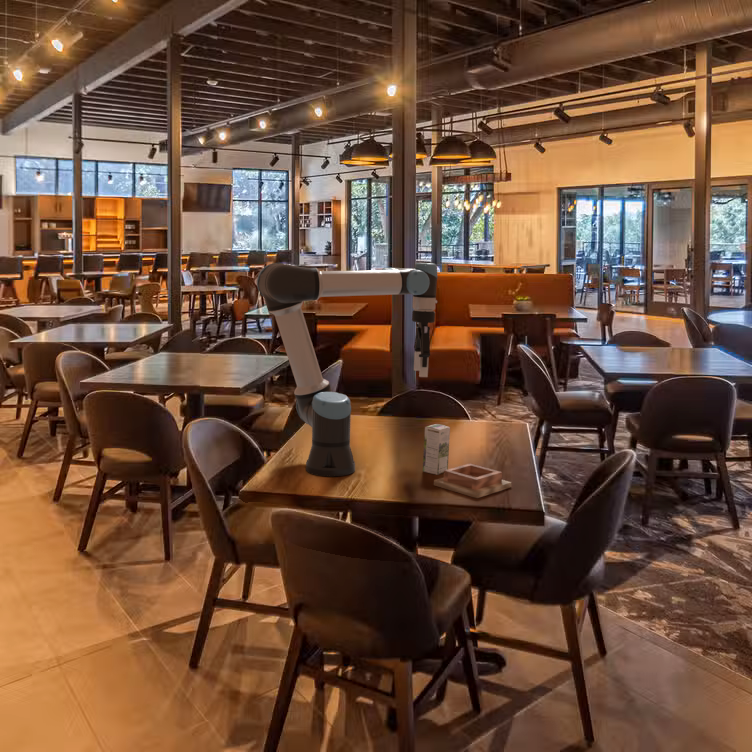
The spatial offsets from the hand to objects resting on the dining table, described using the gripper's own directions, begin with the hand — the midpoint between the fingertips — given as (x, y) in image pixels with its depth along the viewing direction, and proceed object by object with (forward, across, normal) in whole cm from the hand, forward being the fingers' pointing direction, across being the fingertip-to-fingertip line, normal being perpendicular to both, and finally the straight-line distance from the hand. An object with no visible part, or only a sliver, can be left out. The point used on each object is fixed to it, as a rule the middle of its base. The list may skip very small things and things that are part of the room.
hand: (420, 373), depth 267 cm
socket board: (+27, -39, -11) cm, 49 cm away
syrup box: (+27, -24, -3) cm, 36 cm away
